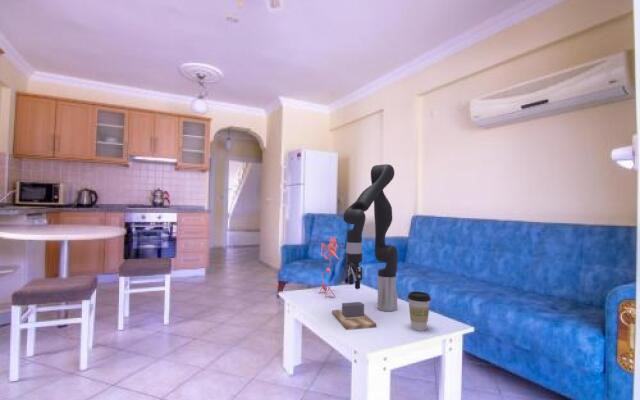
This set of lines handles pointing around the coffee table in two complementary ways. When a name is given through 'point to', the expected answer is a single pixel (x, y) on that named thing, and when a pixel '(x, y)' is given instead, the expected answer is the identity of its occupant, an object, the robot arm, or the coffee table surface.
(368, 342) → the coffee table surface
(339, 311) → the oak board
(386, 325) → the coffee table surface
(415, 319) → the coffee cup
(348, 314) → the sanding block
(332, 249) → the figurine
